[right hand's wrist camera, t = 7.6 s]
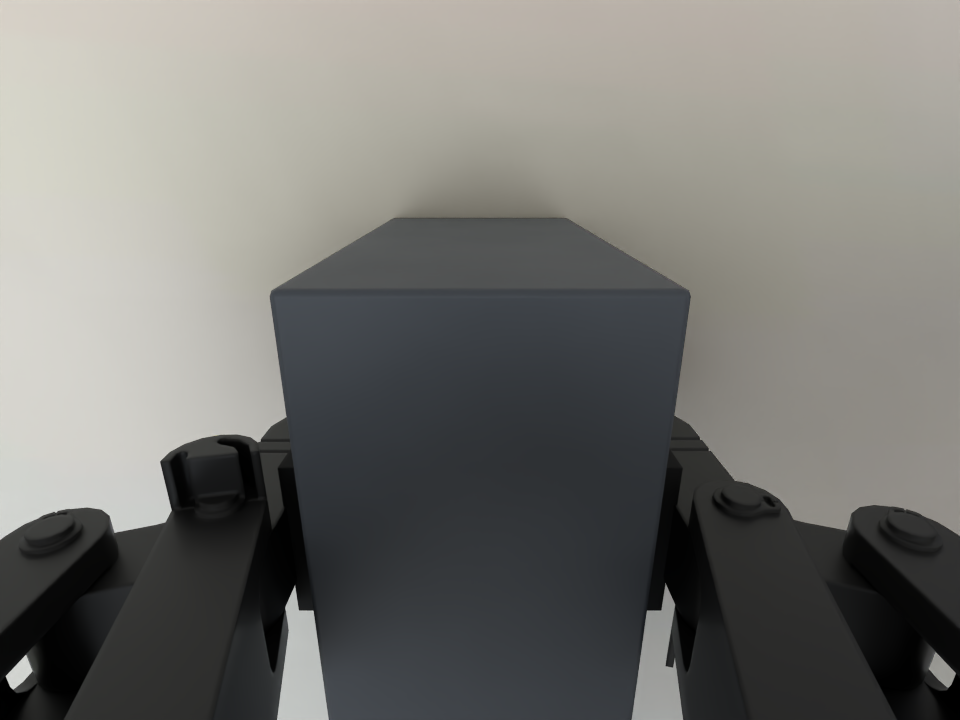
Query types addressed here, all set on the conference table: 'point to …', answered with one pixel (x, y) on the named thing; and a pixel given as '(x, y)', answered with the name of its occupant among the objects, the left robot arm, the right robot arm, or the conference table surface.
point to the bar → (480, 465)
